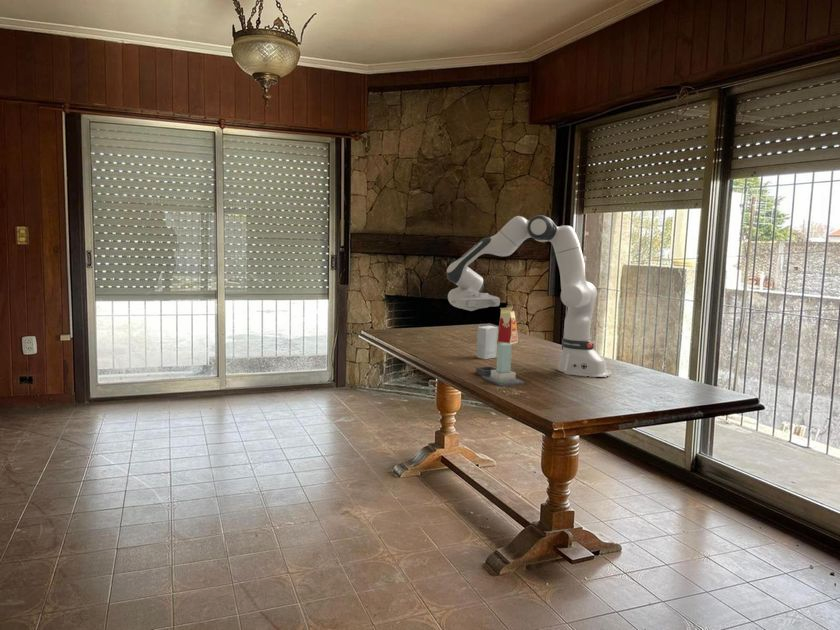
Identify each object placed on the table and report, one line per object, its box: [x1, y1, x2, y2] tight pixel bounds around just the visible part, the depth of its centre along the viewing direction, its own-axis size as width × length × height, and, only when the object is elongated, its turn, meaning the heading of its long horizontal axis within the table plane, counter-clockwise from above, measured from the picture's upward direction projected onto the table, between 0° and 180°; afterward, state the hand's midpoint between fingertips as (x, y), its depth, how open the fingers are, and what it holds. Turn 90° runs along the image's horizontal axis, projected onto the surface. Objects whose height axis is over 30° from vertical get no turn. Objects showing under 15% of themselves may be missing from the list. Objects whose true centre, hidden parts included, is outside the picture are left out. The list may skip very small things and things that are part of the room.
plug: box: [496, 343, 513, 373], centre depth 253 cm, size 4×4×14 cm
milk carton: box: [497, 305, 519, 345], centre depth 342 cm, size 9×9×20 cm
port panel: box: [481, 370, 525, 387], centre depth 254 cm, size 14×11×4 cm
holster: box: [475, 366, 497, 377], centre depth 264 cm, size 7×7×2 cm
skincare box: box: [476, 324, 499, 360], centre depth 299 cm, size 8×6×15 cm
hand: (485, 303), depth 268 cm, fingers open, 8 cm apart
